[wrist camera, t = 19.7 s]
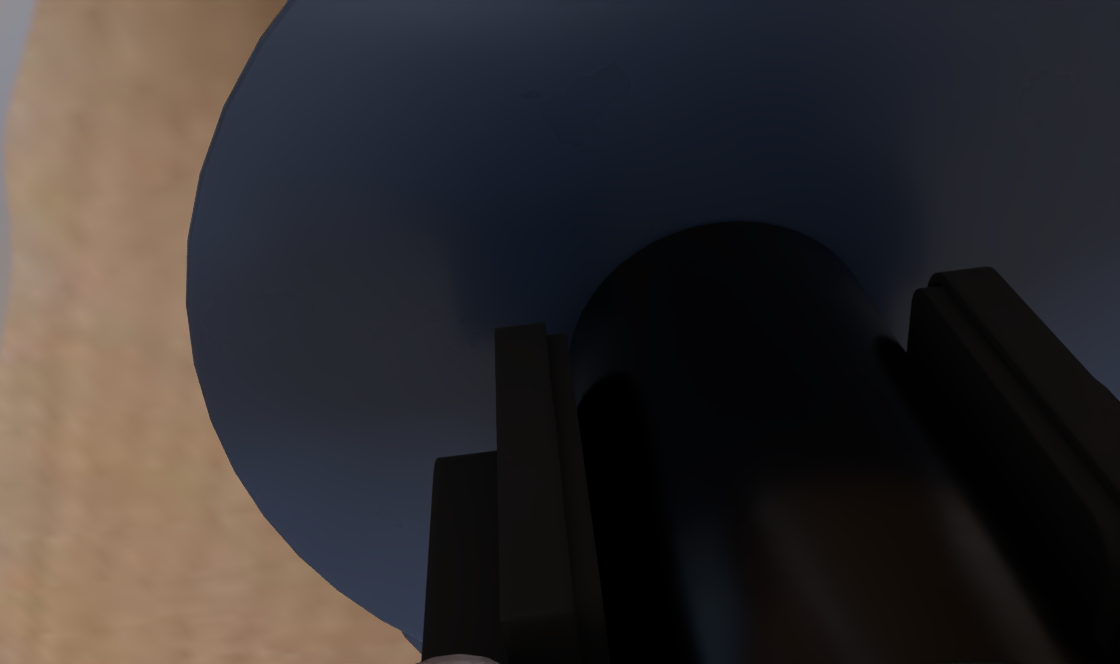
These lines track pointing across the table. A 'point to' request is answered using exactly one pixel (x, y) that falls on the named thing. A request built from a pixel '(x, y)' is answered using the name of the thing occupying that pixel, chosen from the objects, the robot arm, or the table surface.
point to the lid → (663, 296)
